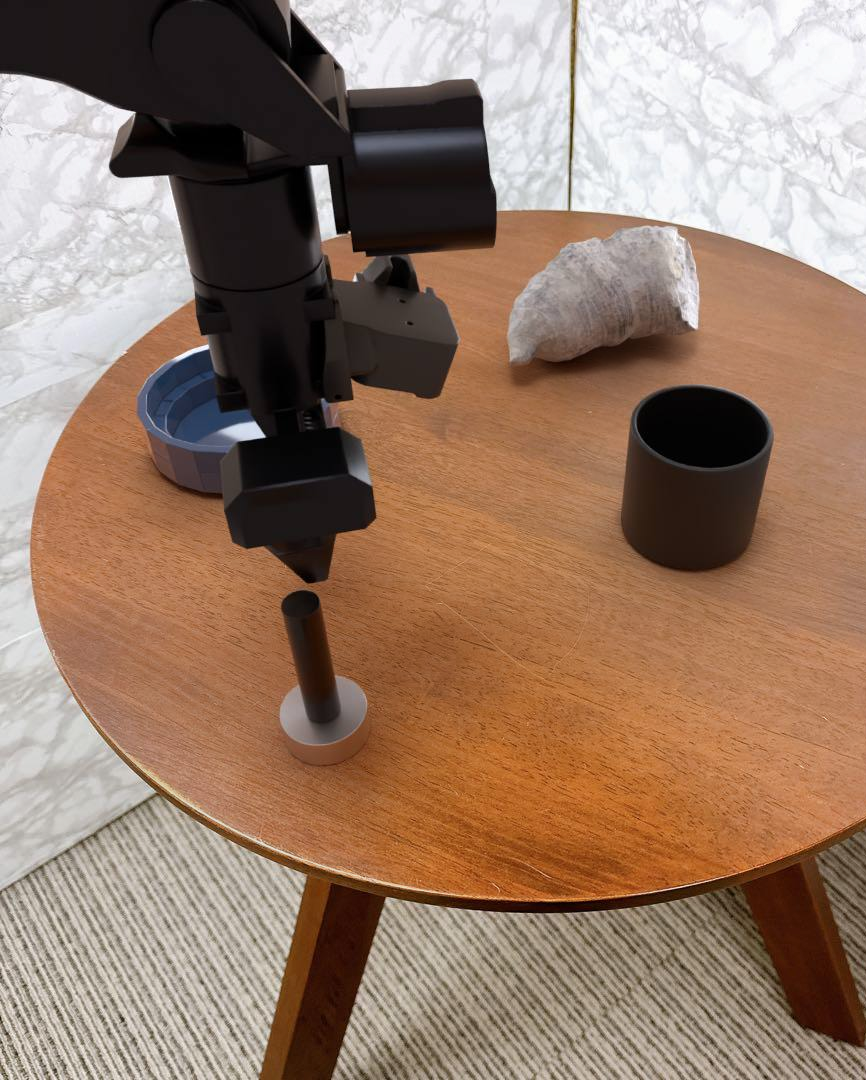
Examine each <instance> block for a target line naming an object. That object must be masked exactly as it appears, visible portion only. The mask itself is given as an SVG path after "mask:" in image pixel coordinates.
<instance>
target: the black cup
mask: <svg viewBox="0 0 866 1080" xmlns="http://www.w3.org/2000/svg"><path fill="white" fill-rule="evenodd" d="M628 429H629V430H628V431H629V432H628V440H627V450H626V459H625V468H624V480H623V490H622V491H623V492H622V499H621V509H620V524H621V527H622V531H623V532H624V534H625V536H626V538H627V539H628V541H629V543H630V544H631V546H633V547H634V548H635V549H636V550H637V551H638V552H639V553H641V554H642V555H644V556H645V557H647V558H648V559H650V560H651V561H654V562H656V563H657V564H661V565H664V566H668V567H671V568H675V569H680V570H691V571H692V570H694V571H696V570H707V569H713V568H717V567H720V566H722V565H725V564H727V563H729V562H731V561H733V560H734V559H736V558H737V557H739V556H740V555H741V554H742V552H744V551H745V550H746V548H747V547H748V545H749V544H750V542H751V540H752V537H753V534H754V529H755V525H756V521H757V516H758V512H759V508H760V504H761V498H762V494H763V490H764V485H765V481H766V476H767V472H768V467H769V463H770V458H771V454H772V450H773V447H774V446H773V445H774V438H775V433H774V427H773V424H772V422H771V419H770V418H769V416H768V414H767V413H766V412H765V411H764V410H763V409H762V408H761V407H760V406H759V405H757V404H756V403H755V402H754V401H753V400H751V399H750V398H747V397H746V396H744V395H742V394H740V393H737V392H735V391H732V390H730V389H727V388H724V387H719V386H715V385H709V384H708V385H707V384H695V383H692V384H687V383H686V384H677V385H671V386H668V387H664V388H661V389H658V390H655V391H653V392H652V393H650V394H648V395H646V396H645V397H644V398H642V399H641V400H640V402H638V403H637V405H636V406H635V407H634V409H633V411H632V413H631V416H630V420H629V428H628Z"/></svg>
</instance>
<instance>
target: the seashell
mask: <svg viewBox="0 0 866 1080" xmlns="http://www.w3.org/2000/svg"><path fill="white" fill-rule="evenodd" d="M678 230H679V229H678V227H676V226H670V225H666V226H662V227H660V226H658V225H653V226H652V225H647V224H646V225H643V226H638V227H637V226H636V227H631V228H628V227H627V228H626V227H625V228H619V229H617V230H616V231H615V232H614V233H612V235H611V236H609V237H607V238H605V239H604V240H603V241H602V239H600V238H598V237H597V236H593V237H591V238H587V239H586V240H584V241H577V242H570V243H568V244H566V246H563V247H562V248H561V249H560V252H559V253H558V254H557V255H556V256H555V257H554V258H553V259H552V260H549V261H548V263H547V264H546V266H545V269H543V270H541V271H539V272H537V273H536V274H534V275H533V276H532V277H531V278H529V280H528V283H527V285H526V286H525V288H524V289H523V290H522V292H521V293H520V294H519V295H517V296H516V298H515V300H514V304H513V306H512V309H511V313H510V314H509V319H508V329H507V333H506V343H507V345H508V349H509V360H508V361H509V364H510V366H512V367H524V366H527V365H529V363H531V361H532V360H533V359H534V358H536V359H541V360H544V361H546V362H554V363H560V362H564V361H571V360H573V359H575V358H577V357H579V356H581V355H584V354H586V353H588V352H590V351H592V350H593V349H595V348H600V347H614V346H618V345H621V344H622V343H623V342H625V341H626V340H627V339H631V340H635V339H636V340H637V339H641V338H644V337H650V336H651V335H660V334H662V335H665V336H667V335H672V336H681V335H685V334H689V333H692V332H695V331H698V329H699V319H700V317H699V308H700V301H701V299H700V283H699V280H698V275H697V265H696V261H695V258H694V255H693V252H692V246H691V244H690V243H689V241H688V240H687V239H686V238H685V237H681V235H680V234H679V233H678V232H679V231H678Z"/></svg>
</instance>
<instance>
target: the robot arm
mask: <svg viewBox="0 0 866 1080" xmlns="http://www.w3.org/2000/svg"><path fill="white" fill-rule="evenodd" d="M290 1H291V0H0V75H14V76H25V77H30V78H33V79H39V80H44V81H49V82H52V83H57V84H61V85H63V86H66V87H68V88H71V89H73V90H75V91H77V92H80V93H82V94H84V95H86V96H89V97H91V98H93V99H95V100H98V101H100V102H101V103H104V104H106V105H108V106H111V107H113V108H115V109H119V110H122V111H123V110H124V111H127V112H132V114H131V116H130V117H129V118H128V119H127V120H126V121H125V122H124V123H123V124H122V125H121V126H119V128H118V129H117V133H116V137H115V140H114V144H113V148H112V150H111V155H110V158H109V162H108V170H109V171H110V173H111V174H112V175H113V176H114V177H116V178H119V179H132V178H149V177H151V178H152V177H164V176H165V177H166V178H167V183H168V187H169V190H170V194H171V198H172V203H173V206H174V211H175V214H176V219H177V223H178V227H179V232H180V235H181V239H182V240H181V241H182V243H183V248H184V251H185V256H186V261H187V264H188V268H189V272H190V277H191V281H192V283H193V284H192V285H193V289H194V290H193V291H194V303H195V304H194V305H195V316H196V320H197V325H198V328H199V333H200V336H201V337H203V336H204V337H205V338H206V342H207V345H208V346H209V350H210V354H211V358H212V363H213V367H214V378H215V390H216V398H217V402H218V406H219V410H220V413H225V412H232V411H239V410H246V409H247V410H248V411H249V413H250V414H251V416H252V417H253V419H254V420H255V422H256V423H257V425H258V426H259V428H260V429H261V431H262V432H263V434H264V435H265V438H258V439H252V440H245V441H238V442H237V443H236V444H235V445H234V446H233V447H232V448H231V449H230V451H229V452H228V453H227V454H226V455H225V456H224V457H223V458H222V460H221V461H220V467H221V479H222V492H223V493H222V500H223V501H222V503H223V513H224V517H225V519H226V520H225V521H226V523H227V527H228V531H229V534H230V538H231V543H233V544H235V545H237V546H239V547H241V548H243V549H245V550H251V549H257V548H261V547H263V548H264V549H266V550H267V551H268V552H270V553H271V554H272V555H273V556H275V557H276V558H277V560H279V561H280V562H281V563H282V564H284V565H285V566H286V567H287V568H288V569H290V571H292V572H293V573H294V574H295V575H296V576H297V577H298V578H300V579H301V580H302V581H303V582H304V583H305V584H308V585H311V584H317V583H321V582H326V581H327V580H328V579H329V576H330V570H331V564H332V560H333V555H334V549H335V544H336V539H337V535H338V534H345V533H350V532H355V531H362V530H366V529H367V528H368V527H370V526H371V525H372V524H373V523H374V522H375V520H377V511H376V510H377V509H376V501H375V495H374V487H373V482H372V478H371V474H370V470H369V466H368V465H369V464H368V461H367V457H366V454H365V450H364V445H363V441H362V439H361V438H359V437H357V436H356V435H354V434H353V433H351V432H349V431H348V430H346V429H344V428H342V427H341V428H340V427H339V426H338V427H332V428H328V427H327V422H326V417H325V412H324V407H323V402H322V399H323V398H325V401H326V402H327V403H337V402H338V403H343V402H350V401H354V400H355V398H354V397H355V396H354V390H353V389H354V388H353V383H352V381H354V383H356V384H359V385H361V386H365V387H369V388H375V389H381V390H388V391H395V392H400V393H401V392H402V393H407V394H414V396H415V397H416V398H418V399H424V400H433V399H437V398H439V397H440V396H441V395H442V393H443V390H444V387H445V384H446V381H447V378H448V375H449V373H450V370H451V367H452V364H453V362H454V359H455V356H456V353H457V350H458V348H459V344H460V340H461V339H460V335H459V333H458V330H457V328H456V325H455V323H454V320H453V317H452V315H451V313H450V310H449V308H448V304H446V303H445V301H444V300H442V299H441V298H440V297H438V296H437V295H436V292H435V290H434V287H431V286H425V288H424V290H423V291H421V289H420V284H419V281H418V275H417V271H416V269H415V266H414V264H413V260H412V257H411V255H415V254H416V255H417V254H430V253H444V252H456V251H457V252H459V251H471V250H472V251H473V250H485V249H486V250H487V249H494V247H495V244H496V239H497V228H498V201H497V199H498V197H497V190H496V186H495V185H494V182H493V179H492V176H491V168H490V158H489V157H490V156H489V149H488V142H487V135H486V129H485V122H484V121H485V114H484V108H485V107H484V99H483V96H482V93H481V91H480V87H479V85H478V83H477V82H476V80H474V79H473V78H457V79H456V78H455V79H446V80H445V79H444V80H440V81H438V82H434V83H431V84H427V85H417V86H400V87H399V86H397V87H378V88H376V87H375V88H359V89H358V88H356V89H355V88H354V89H347V81H346V74H345V70H344V68H343V66H342V65H341V64H340V62H339V61H338V60H337V59H336V58H335V57H334V56H333V54H332V53H331V52H330V51H329V50H328V49H327V48H326V47H325V46H324V44H323V43H322V42H321V41H320V39H318V37H317V36H316V35H315V34H314V33H313V32H312V31H311V29H310V28H309V27H308V26H307V25H306V23H304V21H303V20H302V19H301V18H300V17H299V16H298V14H297V13H296V12H295V11H294V10H293V9H292V7H291V2H290ZM313 166H314V167H315V166H317V167H318V166H327V173H328V181H329V190H330V197H331V203H332V204H331V205H332V213H333V214H332V215H333V222H334V227H335V228H334V229H335V233H336V236H343V235H349V233H350V240H351V247H352V253H354V254H355V253H364V255H365V258H373V259H372V260H371V261H370V262H369V263H368V264H367V265H366V266H365V267H364V268H363V270H362V271H361V272H355V273H354V276H353V279H352V280H346V279H338V278H333V274H332V273H333V272H332V268H331V263H330V262H331V261H330V258H329V254H328V253H325V254H324V248H323V242H322V235H321V229H320V222H319V221H320V220H319V213H318V206H317V199H316V192H315V191H316V190H315V186H314V185H315V184H314V179H313V171H312V167H313Z"/></svg>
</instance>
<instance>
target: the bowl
mask: <svg viewBox="0 0 866 1080" xmlns="http://www.w3.org/2000/svg"><path fill="white" fill-rule="evenodd" d="M136 398H137V399H136V415H137V419H138V422H139V425H140V428H141V431H142V434H143V438H144V441H145V444H146V447H147V450H148V453H149V456H150V458H151V459H152V461H153V463H154V465H155V467H156V468H157V470H158V471H159V472H160V473H161V474H163V476H165V477H167V478H168V479H170V480H171V481H173V482H174V483H175V484H177V485H178V486H181V487H184V488H188V489H192V490H196V491H199V492H202V493H209V494H210V493H211V494H223V492H222V479H221V467H220V461H221V460H222V458H223V457H224V456H225V455H226V454H227V453H228V452H229V451H230V449H231V448H232V447H233V446H234V445H235V444H236V443H237V442H238V441H245V440H252V439H258V438H265V435H264V434H263V432H262V431H261V429H260V428H259V426H258V425H257V423H256V422H255V420H254V419H253V417H252V416H251V414H250V413H249V411H248V410H247V409H246V410H239V411H232V412H225V413H220V410H219V406H218V402H217V398H216V390H215V378H214V367H213V363H212V358H211V354H210V350H209V346H208V344H205V345H202V346H197V347H195V348H194V347H193V348H191V349H189V350H188V351H184V353H181V354H180V355H178V356H175V357H174V358H171V359H169V360H168V361H166V362H164V363H163V364H162V365H161V366H160V367H158V369H157V370H155V371H154V372H153V373H152V374H151V375H150V376H148V378H146V380H145V382H144V384H143V386H142V387H141V389H140V391H139V392H138V394H137V397H136ZM322 402H323V407H324V412H325V417H326V422H327V427H328V428H332V427H338V426H339V427H340V428H342V422H341V421H342V420H341V415H340V414H341V413H340V408H339V402H337V403H327V402H326V401H325V398H323V399H322Z"/></svg>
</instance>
